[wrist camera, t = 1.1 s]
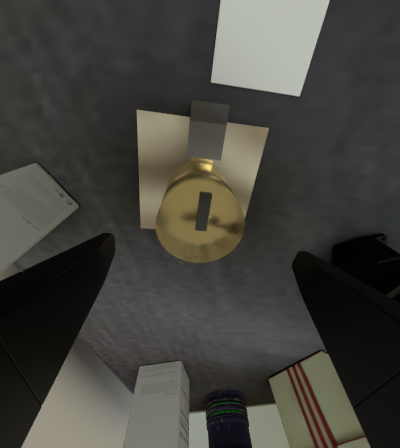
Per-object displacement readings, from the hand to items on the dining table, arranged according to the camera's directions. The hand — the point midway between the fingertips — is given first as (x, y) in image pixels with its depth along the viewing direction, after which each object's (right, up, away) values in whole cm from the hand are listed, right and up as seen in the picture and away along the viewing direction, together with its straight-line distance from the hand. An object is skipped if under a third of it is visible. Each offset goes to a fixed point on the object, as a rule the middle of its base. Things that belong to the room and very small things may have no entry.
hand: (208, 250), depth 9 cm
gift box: (+27, -33, +34) cm, 54 cm away
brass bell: (-1, +4, +9) cm, 10 cm away
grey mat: (+5, +17, +6) cm, 18 cm away
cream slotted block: (-1, +6, +11) cm, 13 cm away
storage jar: (+6, -42, +39) cm, 58 cm away
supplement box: (-8, -31, +32) cm, 45 cm away
